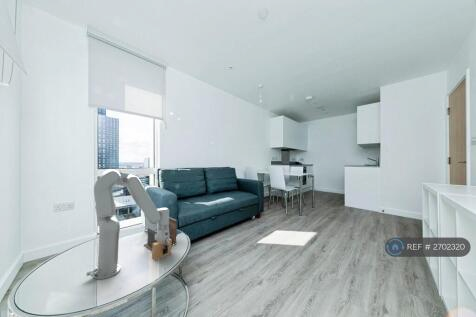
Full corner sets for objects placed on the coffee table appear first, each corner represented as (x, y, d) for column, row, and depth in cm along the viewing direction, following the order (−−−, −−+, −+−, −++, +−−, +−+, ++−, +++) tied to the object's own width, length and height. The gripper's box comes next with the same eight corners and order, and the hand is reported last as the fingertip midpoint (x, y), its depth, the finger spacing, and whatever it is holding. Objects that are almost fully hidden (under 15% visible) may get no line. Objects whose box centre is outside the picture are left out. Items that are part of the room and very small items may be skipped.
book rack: (154, 252, 127) (155, 226, 127) (143, 245, 137) (144, 220, 137) (176, 244, 141) (177, 220, 142) (165, 238, 151) (166, 215, 152)
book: (154, 260, 117) (155, 245, 118) (151, 258, 120) (152, 243, 120) (171, 253, 127) (171, 239, 127) (168, 251, 129) (168, 237, 130)
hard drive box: (164, 229, 169) (165, 208, 169) (160, 233, 161) (161, 211, 162) (149, 228, 171) (150, 208, 171) (144, 231, 163) (145, 210, 163)
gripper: (174, 228, 121) (173, 253, 121) (161, 222, 132) (160, 245, 132) (164, 231, 115) (163, 258, 115) (151, 224, 126) (150, 249, 126)
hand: (162, 251), depth 123 cm, fingers open, 7 cm apart
